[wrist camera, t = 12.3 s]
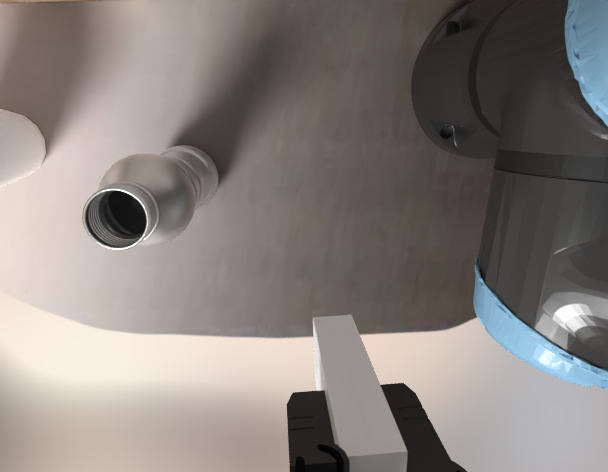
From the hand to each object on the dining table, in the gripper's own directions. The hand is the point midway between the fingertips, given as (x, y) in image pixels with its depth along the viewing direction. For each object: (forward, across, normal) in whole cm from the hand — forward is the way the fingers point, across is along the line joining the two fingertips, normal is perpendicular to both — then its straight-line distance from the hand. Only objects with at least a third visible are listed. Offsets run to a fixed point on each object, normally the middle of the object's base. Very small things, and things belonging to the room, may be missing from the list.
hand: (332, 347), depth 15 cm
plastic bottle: (+29, +11, -4) cm, 31 cm away
